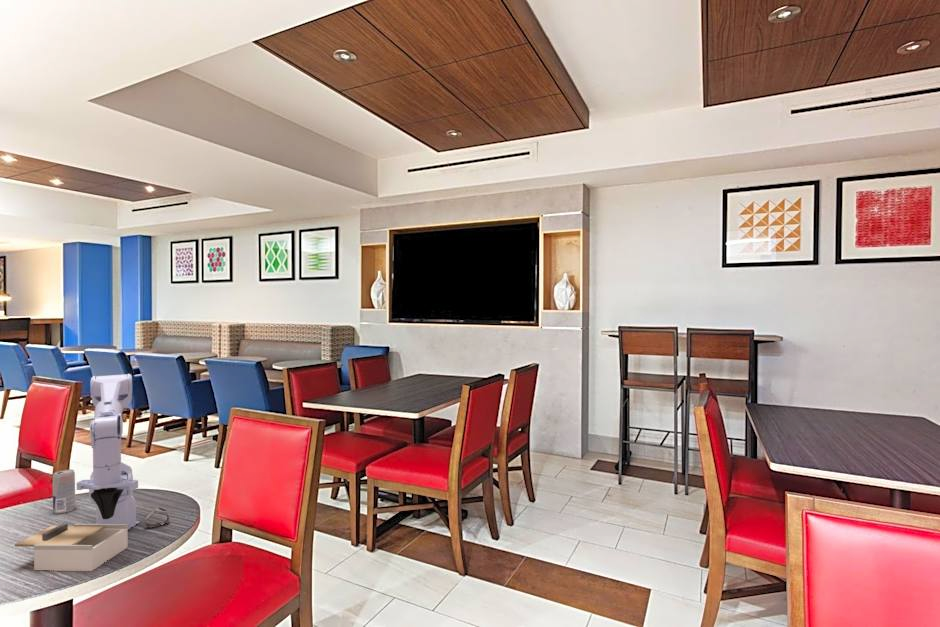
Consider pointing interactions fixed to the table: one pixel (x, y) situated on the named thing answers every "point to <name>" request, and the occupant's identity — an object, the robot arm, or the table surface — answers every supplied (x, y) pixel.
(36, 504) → the table surface
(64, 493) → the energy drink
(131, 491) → the robot arm
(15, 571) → the table surface
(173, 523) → the table surface
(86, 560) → the box
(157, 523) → the wristwatch
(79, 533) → the lid
